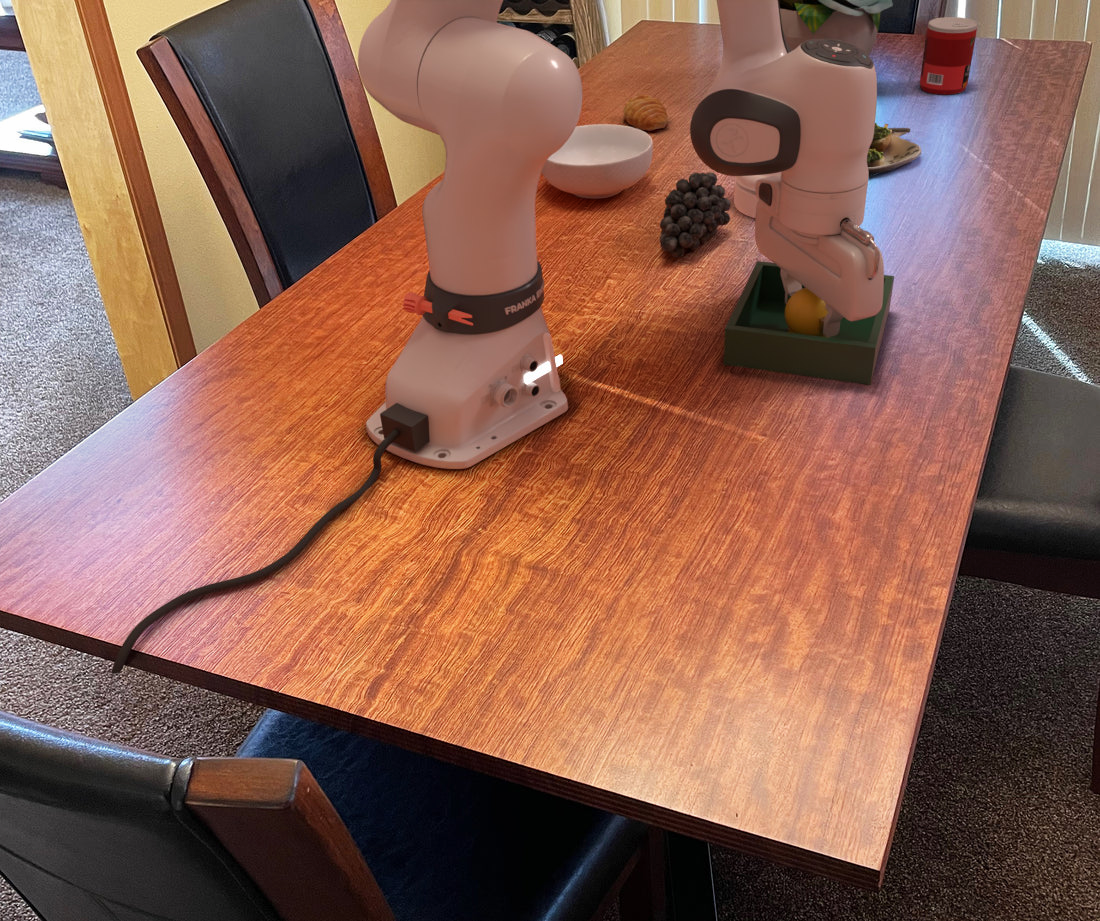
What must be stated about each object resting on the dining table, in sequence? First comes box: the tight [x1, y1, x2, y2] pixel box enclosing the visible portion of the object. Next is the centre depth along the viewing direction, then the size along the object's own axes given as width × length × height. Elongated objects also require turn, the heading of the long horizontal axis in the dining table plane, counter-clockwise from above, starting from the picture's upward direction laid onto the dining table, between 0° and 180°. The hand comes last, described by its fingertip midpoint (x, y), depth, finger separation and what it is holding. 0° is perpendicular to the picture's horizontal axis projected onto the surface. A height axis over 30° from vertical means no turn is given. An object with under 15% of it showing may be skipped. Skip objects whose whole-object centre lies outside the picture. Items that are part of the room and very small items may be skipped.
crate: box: [722, 260, 895, 386], centre depth 125 cm, size 17×16×5 cm
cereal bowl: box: [541, 123, 654, 200], centre depth 163 cm, size 17×17×7 cm
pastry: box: [622, 94, 669, 132], centre depth 186 cm, size 9×7×4 cm
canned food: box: [919, 16, 978, 96], centre depth 190 cm, size 8×8×11 cm
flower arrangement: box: [779, 0, 894, 57], centre depth 191 cm, size 25×25×24 cm
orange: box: [785, 288, 830, 338], centre depth 124 cm, size 6×6×7 cm
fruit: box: [659, 172, 732, 259], centre depth 146 cm, size 9×8×15 cm
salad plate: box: [867, 122, 922, 177], centre depth 170 cm, size 19×18×5 cm
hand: (810, 319), depth 124 cm, fingers closed on orange, 5 cm apart
